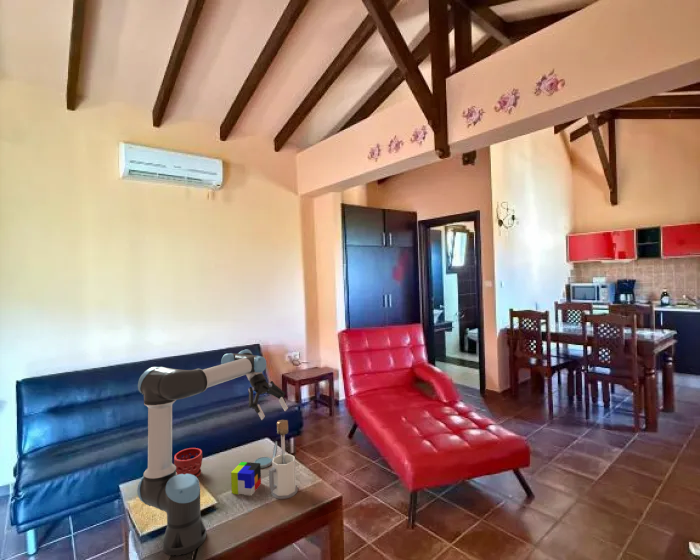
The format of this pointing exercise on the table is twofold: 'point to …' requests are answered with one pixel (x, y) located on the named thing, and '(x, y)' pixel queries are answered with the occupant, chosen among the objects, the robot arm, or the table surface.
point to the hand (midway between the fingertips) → (275, 413)
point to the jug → (283, 477)
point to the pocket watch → (267, 458)
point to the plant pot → (188, 462)
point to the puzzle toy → (246, 478)
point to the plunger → (282, 436)
